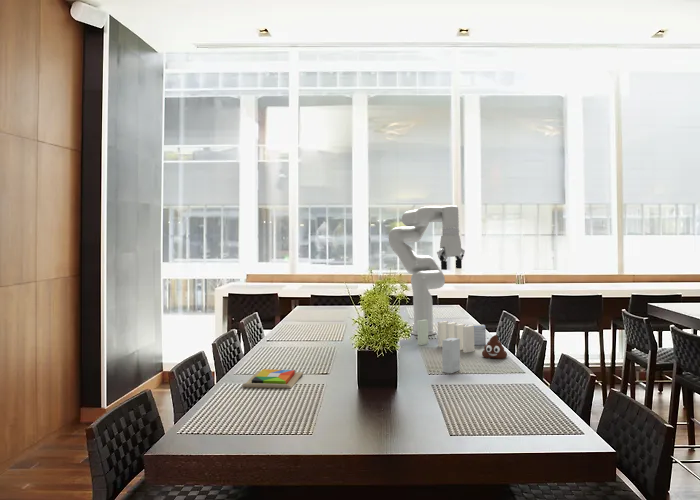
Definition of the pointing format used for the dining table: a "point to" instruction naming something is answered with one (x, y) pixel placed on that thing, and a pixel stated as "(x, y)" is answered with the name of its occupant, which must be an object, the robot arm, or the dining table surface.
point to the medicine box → (479, 334)
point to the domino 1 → (422, 332)
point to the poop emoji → (494, 349)
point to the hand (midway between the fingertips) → (451, 269)
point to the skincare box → (451, 355)
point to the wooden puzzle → (273, 379)
